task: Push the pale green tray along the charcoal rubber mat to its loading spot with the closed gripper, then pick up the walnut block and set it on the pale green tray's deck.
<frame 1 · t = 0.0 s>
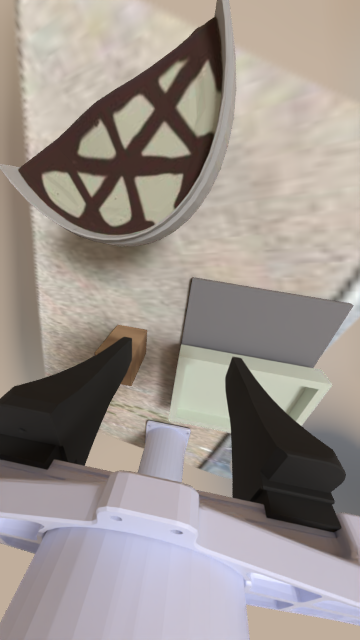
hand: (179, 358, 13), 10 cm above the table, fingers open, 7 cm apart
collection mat: (240, 365, 26), on the table
food container: (165, 197, 18), on the table
pale green tray: (237, 393, 25), point 2 cm above the table, slide at 0.0 cm
walnut block: (132, 339, 26), on the table
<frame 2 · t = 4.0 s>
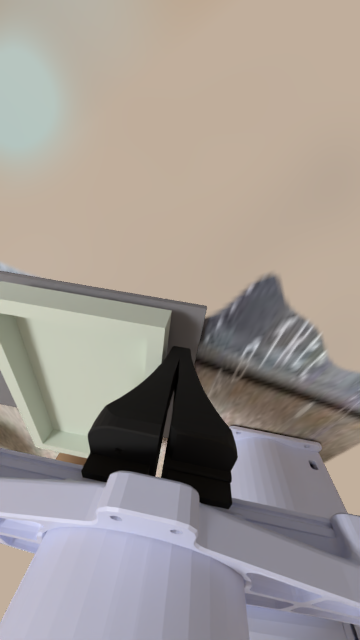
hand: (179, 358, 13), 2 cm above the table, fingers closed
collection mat: (78, 364, 19), on the table
pale green tray: (92, 388, 16), point 2 cm above the table, slide at 0.4 cm, touching gripper
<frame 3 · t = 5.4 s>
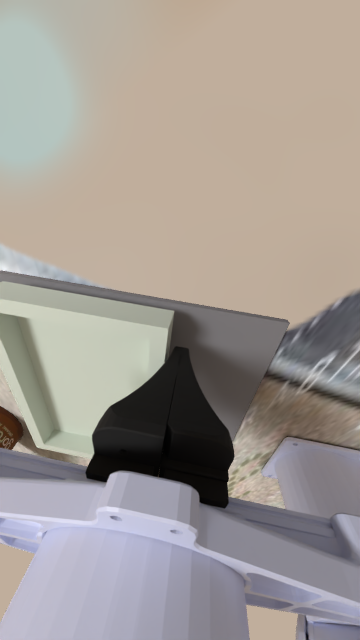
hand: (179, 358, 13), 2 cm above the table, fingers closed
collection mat: (136, 375, 18), on the table
food container: (4, 415, 25), on the table
pale green tray: (94, 388, 16), point 2 cm above the table, slide at 6.0 cm, touching gripper
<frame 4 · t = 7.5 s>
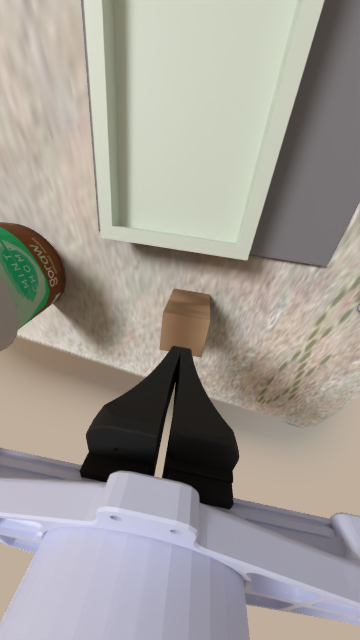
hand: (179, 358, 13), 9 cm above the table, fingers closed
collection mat: (231, 130, 14), on the table
food container: (45, 258, 21), on the table
pale green tray: (190, 111, 12), point 2 cm above the table, slide at 6.0 cm
walnut block: (188, 307, 22), on the table
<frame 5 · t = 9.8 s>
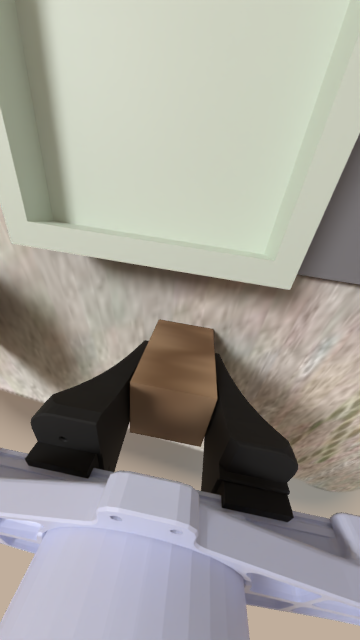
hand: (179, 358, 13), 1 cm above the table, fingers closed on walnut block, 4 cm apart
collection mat: (263, 30, 7), on the table
walnut block: (182, 346, 15), on the table, touching gripper
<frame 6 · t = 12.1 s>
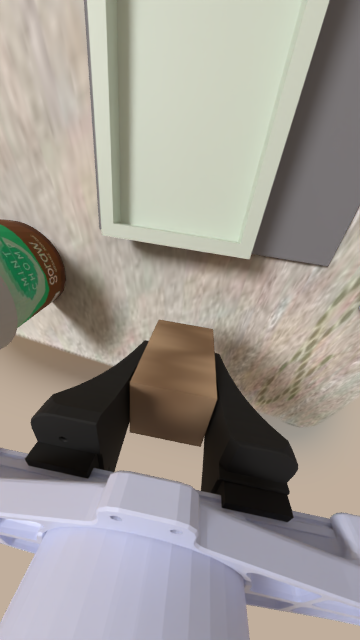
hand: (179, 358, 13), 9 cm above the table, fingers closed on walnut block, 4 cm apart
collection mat: (234, 128, 14), on the table
food container: (45, 256, 21), on the table
pale green tray: (193, 107, 12), point 2 cm above the table, slide at 6.0 cm
walnut block: (182, 346, 15), point 8 cm above the table, touching gripper
when the fingers open (6 cm above the table, at t = 14.5 s): walnut block drops 2 cm, resting on pale green tray.
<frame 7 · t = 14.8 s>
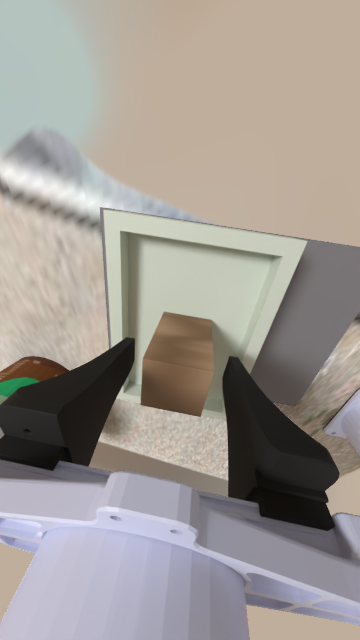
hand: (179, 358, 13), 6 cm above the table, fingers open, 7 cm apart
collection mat: (217, 324, 18), on the table
food container: (64, 377, 25), on the table
pale green tray: (184, 331, 17), point 2 cm above the table, slide at 6.0 cm, touching walnut block
walnut block: (184, 335, 17), point 2 cm above the table, touching pale green tray
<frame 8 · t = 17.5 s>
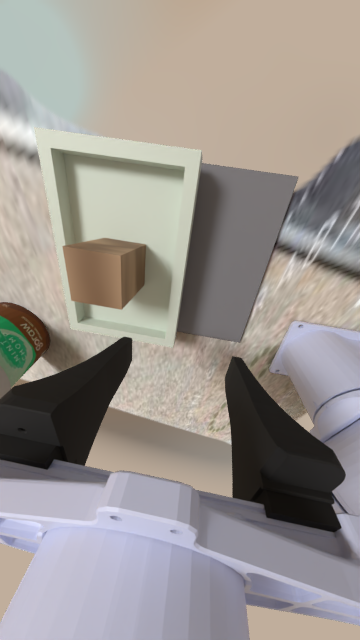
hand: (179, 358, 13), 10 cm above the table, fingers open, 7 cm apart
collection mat: (160, 259, 21), on the table
food container: (33, 324, 28), on the table
pale green tray: (126, 258, 19), point 2 cm above the table, slide at 6.0 cm, touching walnut block
walnut block: (125, 262, 19), point 2 cm above the table, touching pale green tray
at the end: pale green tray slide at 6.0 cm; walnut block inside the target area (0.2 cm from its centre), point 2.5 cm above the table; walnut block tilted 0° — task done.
